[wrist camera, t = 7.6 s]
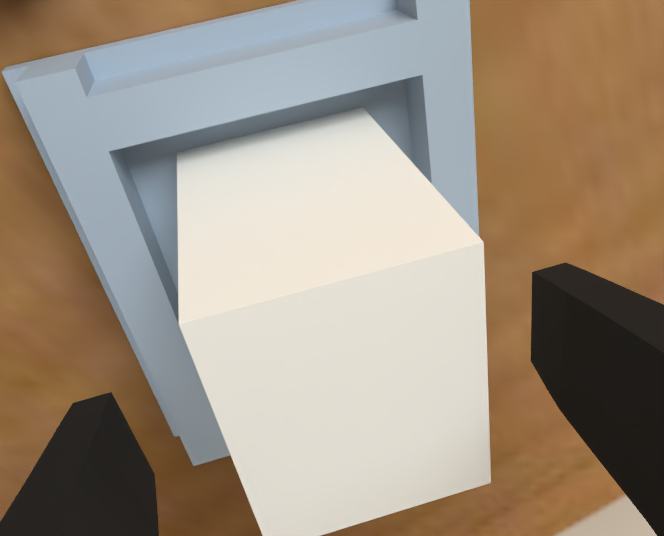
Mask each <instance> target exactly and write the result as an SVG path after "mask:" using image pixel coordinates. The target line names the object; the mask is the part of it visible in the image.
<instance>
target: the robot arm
mask: <svg viewBox="0 0 664 536" xmlns="http://www.w3.org/2000/svg"><path fill="white" fill-rule="evenodd" d="M531 362H532V363H533V365H534V367H535V369H536V370H537V372H538V374H539V376H540V377H541V379H542V381H543V383H544V384H545V386H546V388H547V390H548V391H549V393H550V394H551V396H552V398H553V399H554V401H555V403H556V404H557V406H558V407H559V409H560V410H561V412H562V413H563V414H564V416H565V417H566V418H567V420H568V421H569V422H570V424H571V425H572V426H573V428H574V429H575V430H576V431H577V433H578V434H579V435H580V437H581V438H582V439H583V440H584V442H585V443H586V444H587V446H588V447H589V448H590V449H591V451H592V452H593V453H594V454H595V456H596V457H597V458H598V460H599V461H600V462H601V463H602V465H603V466H604V467H605V468H606V470H607V471H608V472H609V474H610V475H611V476H612V477H613V479H614V480H615V481H616V482H617V484H618V485H619V486H620V487H621V489H622V490H623V491H624V493H625V494H626V495H627V496H628V498H629V499H630V500H631V501H632V503H633V504H634V505H635V506H636V508H637V509H638V510H639V512H640V513H641V514H642V515H643V517H644V518H645V519H646V521H647V522H648V523H649V525H650V526H651V528H652V529H653V530H654V532H655V533H656V534H657V536H664V305H663V304H660V303H658V302H656V301H654V300H651V299H649V298H647V297H644V296H642V295H640V294H638V293H635V292H633V291H631V290H629V289H626V288H624V287H622V286H620V285H617V284H615V283H613V282H611V281H608V280H606V279H604V278H602V277H599V276H597V275H595V274H592V273H590V272H588V271H585V270H583V269H581V268H578V267H576V266H573V265H570V264H568V263H563V264H559V265H556V266H552V267H549V268H545V269H542V270H538V271H534V272H532V327H531ZM0 536H159V532H158V515H157V500H156V488H155V476H154V472H153V470H152V468H151V467H150V465H149V463H148V461H147V459H146V457H145V455H144V453H143V451H142V450H141V448H140V446H139V444H138V442H137V440H136V438H135V436H134V434H133V432H132V431H131V429H130V427H129V425H128V423H127V421H126V419H125V417H124V415H123V414H122V412H121V410H120V408H119V406H118V404H117V402H116V400H115V398H114V396H113V395H112V393H111V392H110V393H107V394H103V395H100V396H96V397H93V398H89V399H86V400H82V401H79V402H75V403H73V404H72V406H71V407H70V409H69V410H68V412H67V414H66V415H65V417H64V419H63V420H62V422H61V423H60V425H59V427H58V428H57V430H56V432H55V433H54V435H53V437H52V438H51V440H50V442H49V443H48V445H47V447H46V448H45V450H44V452H43V453H42V455H41V457H40V458H39V460H38V462H37V463H36V465H35V467H34V468H33V470H32V472H31V473H30V475H29V477H28V478H27V480H26V482H25V483H24V485H23V487H22V488H21V490H20V491H19V493H18V495H17V496H16V498H15V499H14V501H13V503H12V504H11V506H10V507H9V509H8V511H7V512H6V514H5V515H4V517H3V519H2V520H1V522H0Z"/></svg>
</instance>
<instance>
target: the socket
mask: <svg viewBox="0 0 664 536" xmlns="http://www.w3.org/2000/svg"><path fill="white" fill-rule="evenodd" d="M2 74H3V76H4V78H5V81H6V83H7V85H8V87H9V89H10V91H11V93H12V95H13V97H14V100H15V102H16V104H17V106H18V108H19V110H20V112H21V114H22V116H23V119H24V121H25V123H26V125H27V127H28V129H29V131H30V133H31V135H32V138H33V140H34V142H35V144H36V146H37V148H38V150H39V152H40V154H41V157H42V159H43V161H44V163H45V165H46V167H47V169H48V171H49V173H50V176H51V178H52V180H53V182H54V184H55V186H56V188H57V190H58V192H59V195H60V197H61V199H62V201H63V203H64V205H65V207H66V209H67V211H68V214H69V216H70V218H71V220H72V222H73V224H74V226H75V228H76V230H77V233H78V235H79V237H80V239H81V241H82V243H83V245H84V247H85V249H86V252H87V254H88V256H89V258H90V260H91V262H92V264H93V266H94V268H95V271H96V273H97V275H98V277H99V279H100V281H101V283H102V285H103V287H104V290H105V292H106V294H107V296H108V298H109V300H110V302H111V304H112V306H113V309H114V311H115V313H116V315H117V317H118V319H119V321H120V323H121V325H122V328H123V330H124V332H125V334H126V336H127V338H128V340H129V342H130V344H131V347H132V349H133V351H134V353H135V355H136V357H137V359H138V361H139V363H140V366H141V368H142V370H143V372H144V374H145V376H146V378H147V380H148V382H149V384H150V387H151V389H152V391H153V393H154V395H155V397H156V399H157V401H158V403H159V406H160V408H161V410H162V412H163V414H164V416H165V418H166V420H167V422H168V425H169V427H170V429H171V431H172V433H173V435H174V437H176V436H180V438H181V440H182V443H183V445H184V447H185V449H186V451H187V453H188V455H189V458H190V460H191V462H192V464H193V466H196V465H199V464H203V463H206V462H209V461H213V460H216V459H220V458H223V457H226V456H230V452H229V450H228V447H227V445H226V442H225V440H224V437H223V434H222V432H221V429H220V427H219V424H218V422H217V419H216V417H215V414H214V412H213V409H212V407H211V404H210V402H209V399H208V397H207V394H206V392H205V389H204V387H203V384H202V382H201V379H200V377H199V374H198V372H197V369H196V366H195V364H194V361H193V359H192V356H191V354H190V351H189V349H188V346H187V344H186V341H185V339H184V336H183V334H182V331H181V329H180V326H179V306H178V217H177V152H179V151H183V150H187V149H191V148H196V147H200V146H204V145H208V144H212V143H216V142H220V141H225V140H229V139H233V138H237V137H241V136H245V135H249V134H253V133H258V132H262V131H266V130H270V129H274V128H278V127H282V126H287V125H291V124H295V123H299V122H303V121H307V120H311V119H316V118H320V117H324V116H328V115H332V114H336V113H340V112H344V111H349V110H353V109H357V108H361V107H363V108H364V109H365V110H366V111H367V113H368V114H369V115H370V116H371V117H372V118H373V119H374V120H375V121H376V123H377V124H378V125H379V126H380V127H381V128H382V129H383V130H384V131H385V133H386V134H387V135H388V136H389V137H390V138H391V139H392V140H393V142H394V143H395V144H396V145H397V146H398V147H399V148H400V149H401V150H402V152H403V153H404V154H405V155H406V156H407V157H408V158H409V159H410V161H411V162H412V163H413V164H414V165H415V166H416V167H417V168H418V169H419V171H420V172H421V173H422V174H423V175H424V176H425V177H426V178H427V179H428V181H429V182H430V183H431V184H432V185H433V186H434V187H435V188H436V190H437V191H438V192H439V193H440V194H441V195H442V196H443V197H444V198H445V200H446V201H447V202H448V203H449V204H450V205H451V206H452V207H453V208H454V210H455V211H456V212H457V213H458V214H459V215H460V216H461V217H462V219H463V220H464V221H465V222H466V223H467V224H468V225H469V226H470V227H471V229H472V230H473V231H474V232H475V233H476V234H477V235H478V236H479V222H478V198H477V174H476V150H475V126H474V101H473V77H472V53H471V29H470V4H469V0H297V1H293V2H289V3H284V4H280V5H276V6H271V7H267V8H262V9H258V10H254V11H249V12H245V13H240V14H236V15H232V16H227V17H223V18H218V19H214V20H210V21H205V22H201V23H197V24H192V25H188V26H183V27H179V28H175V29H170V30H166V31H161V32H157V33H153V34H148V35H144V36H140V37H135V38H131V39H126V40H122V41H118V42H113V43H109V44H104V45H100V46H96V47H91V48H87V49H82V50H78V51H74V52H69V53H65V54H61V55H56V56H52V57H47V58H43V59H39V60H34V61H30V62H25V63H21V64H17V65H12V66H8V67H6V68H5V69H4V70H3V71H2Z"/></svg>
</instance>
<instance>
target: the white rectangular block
mask: <svg viewBox="0 0 664 536" xmlns="http://www.w3.org/2000/svg"><path fill="white" fill-rule="evenodd" d="M177 217H178V306H179V326H180V329H181V331H182V334H183V336H184V339H185V341H186V344H187V346H188V349H189V351H190V354H191V356H192V359H193V361H194V364H195V366H196V369H197V372H198V374H199V377H200V379H201V382H202V384H203V387H204V389H205V392H206V394H207V397H208V399H209V402H210V404H211V407H212V409H213V412H214V414H215V417H216V419H217V422H218V424H219V427H220V429H221V432H222V434H223V437H224V440H225V442H226V445H227V447H228V450H229V452H230V455H231V457H232V460H233V462H234V465H235V467H236V470H237V472H238V475H239V477H240V480H241V482H242V485H243V487H244V490H245V492H246V495H247V497H248V500H249V502H250V505H251V508H252V510H253V513H254V515H255V518H256V520H257V523H258V525H259V528H260V530H261V533H262V535H263V536H321V535H324V534H327V533H330V532H334V531H337V530H340V529H343V528H346V527H350V526H353V525H356V524H359V523H363V522H366V521H369V520H372V519H376V518H379V517H382V516H385V515H388V514H392V513H395V512H398V511H401V510H405V509H408V508H411V507H414V506H417V505H421V504H424V503H427V502H430V501H434V500H437V499H440V498H443V497H446V496H450V495H453V494H456V493H459V492H463V491H466V490H469V489H472V488H476V487H479V486H482V485H485V484H488V483H491V467H490V435H489V402H488V369H487V337H486V304H485V271H484V242H483V241H482V240H481V239H480V238H479V236H478V235H477V234H476V233H475V232H474V231H473V230H472V229H471V227H470V226H469V225H468V224H467V223H466V222H465V221H464V220H463V219H462V217H461V216H460V215H459V214H458V213H457V212H456V211H455V210H454V208H453V207H452V206H451V205H450V204H449V203H448V202H447V201H446V200H445V198H444V197H443V196H442V195H441V194H440V193H439V192H438V191H437V190H436V188H435V187H434V186H433V185H432V184H431V183H430V182H429V181H428V179H427V178H426V177H425V176H424V175H423V174H422V173H421V172H420V171H419V169H418V168H417V167H416V166H415V165H414V164H413V163H412V162H411V161H410V159H409V158H408V157H407V156H406V155H405V154H404V153H403V152H402V150H401V149H400V148H399V147H398V146H397V145H396V144H395V143H394V142H393V140H392V139H391V138H390V137H389V136H388V135H387V134H386V133H385V131H384V130H383V129H382V128H381V127H380V126H379V125H378V124H377V123H376V121H375V120H374V119H373V118H372V117H371V116H370V115H369V114H368V113H367V111H366V110H365V109H364V108H363V107H361V108H357V109H353V110H349V111H344V112H340V113H336V114H332V115H328V116H324V117H320V118H316V119H311V120H307V121H303V122H299V123H295V124H291V125H287V126H282V127H278V128H274V129H270V130H266V131H262V132H258V133H253V134H249V135H245V136H241V137H237V138H233V139H229V140H225V141H220V142H216V143H212V144H208V145H204V146H200V147H196V148H191V149H187V150H183V151H179V152H177Z"/></svg>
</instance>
